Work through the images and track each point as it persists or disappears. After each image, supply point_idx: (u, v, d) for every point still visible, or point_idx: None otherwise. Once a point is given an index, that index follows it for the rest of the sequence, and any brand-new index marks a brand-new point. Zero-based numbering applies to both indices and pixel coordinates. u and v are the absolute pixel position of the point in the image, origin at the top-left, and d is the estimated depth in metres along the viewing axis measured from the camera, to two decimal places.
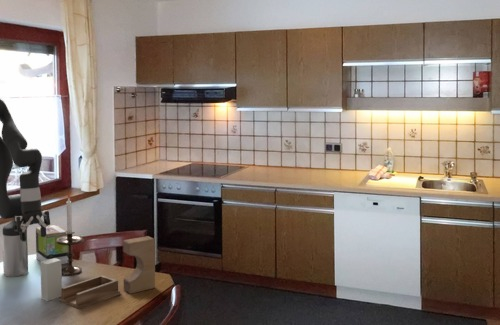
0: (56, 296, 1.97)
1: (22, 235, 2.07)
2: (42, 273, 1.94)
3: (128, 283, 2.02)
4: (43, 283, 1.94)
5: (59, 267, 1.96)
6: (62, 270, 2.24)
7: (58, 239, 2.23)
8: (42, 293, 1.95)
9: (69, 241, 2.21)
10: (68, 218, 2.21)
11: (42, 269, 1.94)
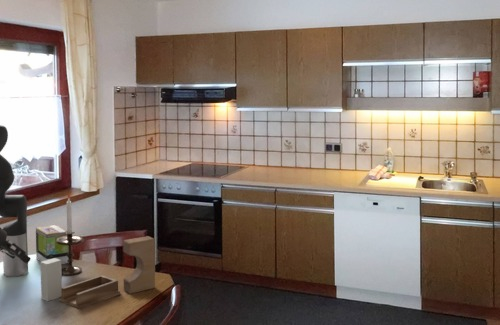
0: (56, 296, 1.97)
1: None
2: (42, 273, 1.94)
3: (128, 283, 2.02)
4: (43, 283, 1.94)
5: (59, 267, 1.96)
6: (62, 270, 2.24)
7: (58, 239, 2.23)
8: (42, 293, 1.95)
9: (69, 241, 2.21)
10: (68, 218, 2.21)
11: (42, 269, 1.94)
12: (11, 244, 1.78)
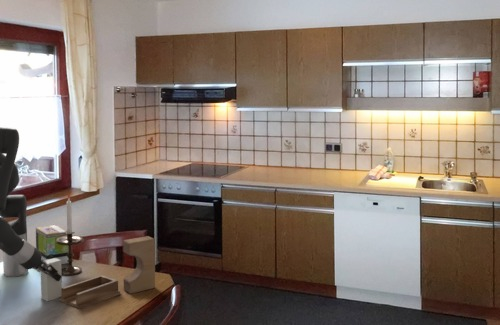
0: (56, 296, 1.97)
1: None
2: (42, 273, 1.94)
3: (128, 283, 2.02)
4: (43, 283, 1.94)
5: (59, 267, 1.96)
6: (62, 270, 2.24)
7: (58, 239, 2.23)
8: (42, 293, 1.95)
9: (69, 241, 2.21)
10: (68, 218, 2.21)
11: None
12: None
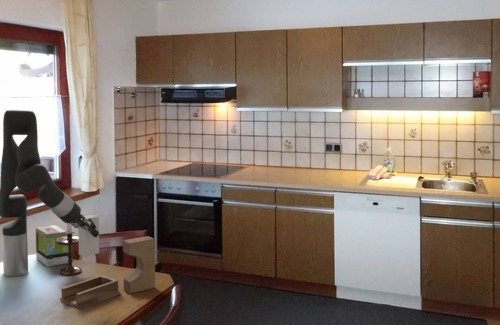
0: (93, 252, 1.95)
1: None
2: (80, 229, 1.93)
3: (128, 283, 2.02)
4: (81, 238, 1.93)
5: (97, 223, 1.95)
6: (62, 270, 2.24)
7: (58, 239, 2.23)
8: (80, 249, 1.94)
9: (69, 241, 2.21)
10: None
11: None
12: None
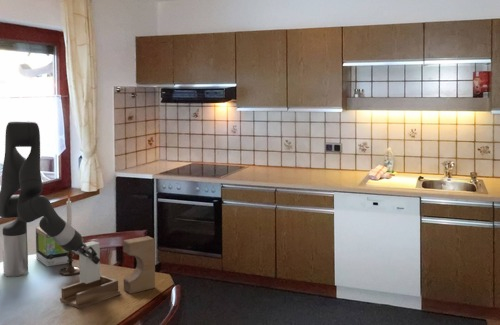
0: (94, 279, 1.96)
1: None
2: (81, 256, 1.94)
3: (128, 283, 2.02)
4: (82, 265, 1.94)
5: (97, 250, 1.96)
6: (62, 270, 2.24)
7: None
8: (81, 276, 1.95)
9: None
10: (68, 218, 2.21)
11: None
12: None
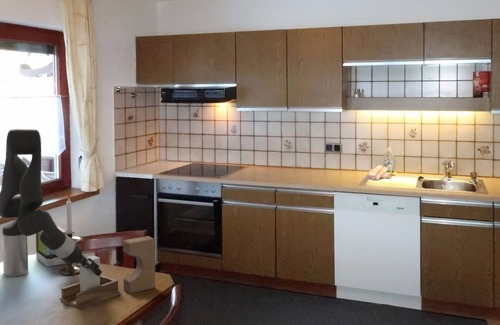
0: None
1: None
2: (81, 270, 1.95)
3: (128, 283, 2.02)
4: (82, 280, 1.95)
5: None
6: (62, 270, 2.24)
7: None
8: (81, 290, 1.96)
9: None
10: (68, 218, 2.21)
11: (81, 266, 1.94)
12: (86, 259, 1.90)
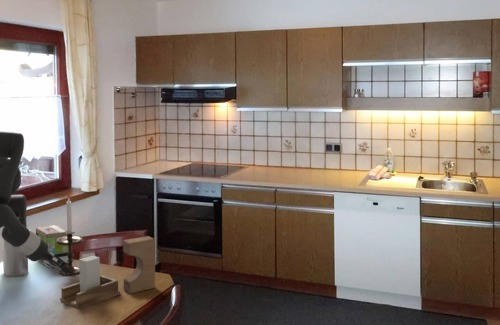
0: None
1: None
2: (81, 270, 1.95)
3: (128, 283, 2.02)
4: (82, 280, 1.95)
5: (98, 264, 1.97)
6: None
7: (58, 239, 2.23)
8: (81, 290, 1.96)
9: (69, 241, 2.21)
10: (68, 218, 2.21)
11: (81, 266, 1.94)
12: (52, 255, 1.80)
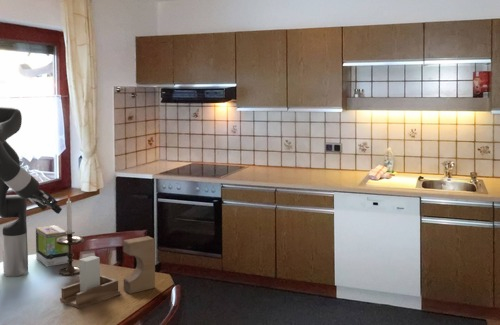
0: None
1: None
2: (81, 270, 1.95)
3: (128, 283, 2.02)
4: (82, 280, 1.95)
5: (98, 264, 1.97)
6: (62, 270, 2.24)
7: (58, 239, 2.23)
8: (81, 290, 1.96)
9: (69, 241, 2.21)
10: (68, 218, 2.21)
11: (81, 266, 1.94)
12: (43, 193, 1.79)
